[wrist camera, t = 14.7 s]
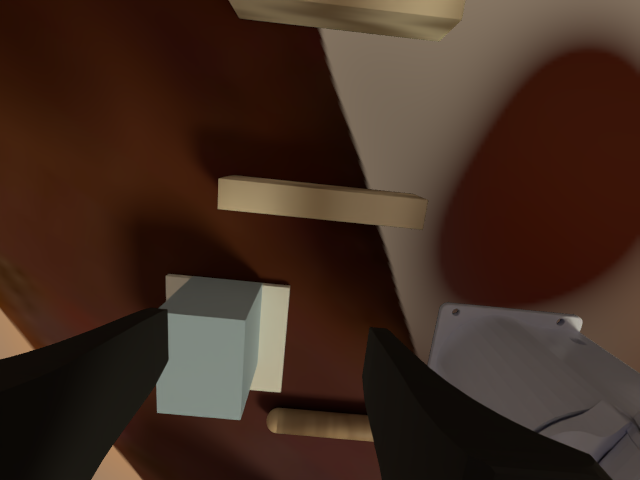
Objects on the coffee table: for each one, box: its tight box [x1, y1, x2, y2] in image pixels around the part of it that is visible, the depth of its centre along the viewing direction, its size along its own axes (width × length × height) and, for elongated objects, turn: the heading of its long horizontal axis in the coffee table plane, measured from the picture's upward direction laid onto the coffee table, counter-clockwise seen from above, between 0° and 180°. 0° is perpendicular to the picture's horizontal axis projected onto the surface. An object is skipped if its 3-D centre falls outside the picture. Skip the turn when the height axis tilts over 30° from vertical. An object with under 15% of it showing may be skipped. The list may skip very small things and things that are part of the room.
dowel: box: [267, 408, 374, 442], centre depth 23 cm, size 12×2×2 cm, turn 84°
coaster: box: [166, 274, 290, 392], centre depth 22 cm, size 8×8×1 cm
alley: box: [218, 0, 465, 230], centre depth 17 cm, size 11×12×3 cm
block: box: [156, 276, 263, 420], centre depth 19 cm, size 6×4×5 cm
